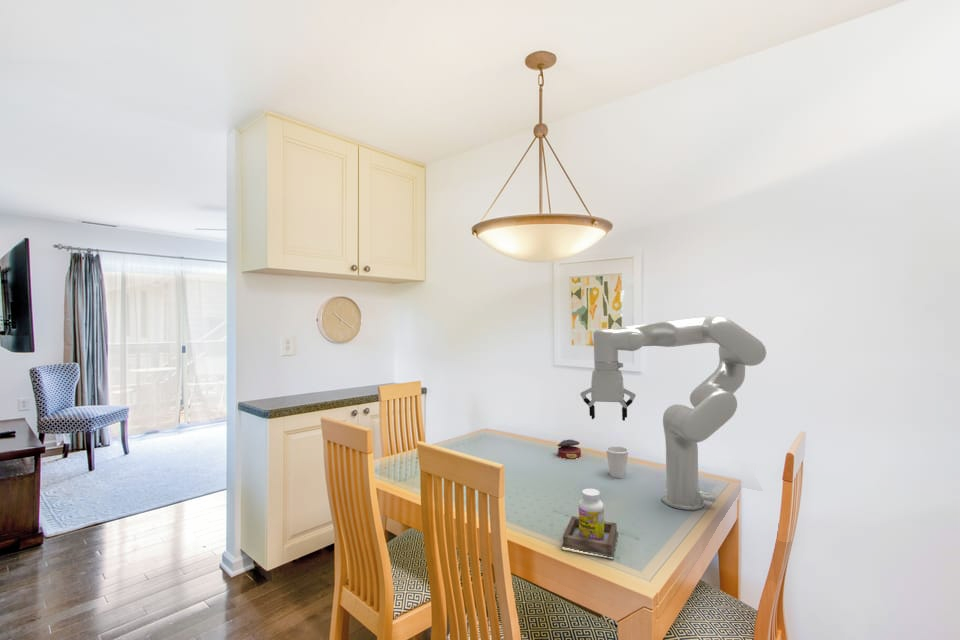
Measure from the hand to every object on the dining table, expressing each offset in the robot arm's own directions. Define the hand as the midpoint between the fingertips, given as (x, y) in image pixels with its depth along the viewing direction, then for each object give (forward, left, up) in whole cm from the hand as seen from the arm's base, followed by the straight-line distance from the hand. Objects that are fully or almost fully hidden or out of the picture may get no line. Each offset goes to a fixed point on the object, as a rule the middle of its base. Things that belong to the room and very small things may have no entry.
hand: (608, 418), depth 142 cm
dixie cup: (0, -27, -28) cm, 39 cm away
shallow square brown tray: (+2, +27, -28) cm, 39 cm away
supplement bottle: (+2, +27, -27) cm, 38 cm away
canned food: (+22, -44, -28) cm, 57 cm away
